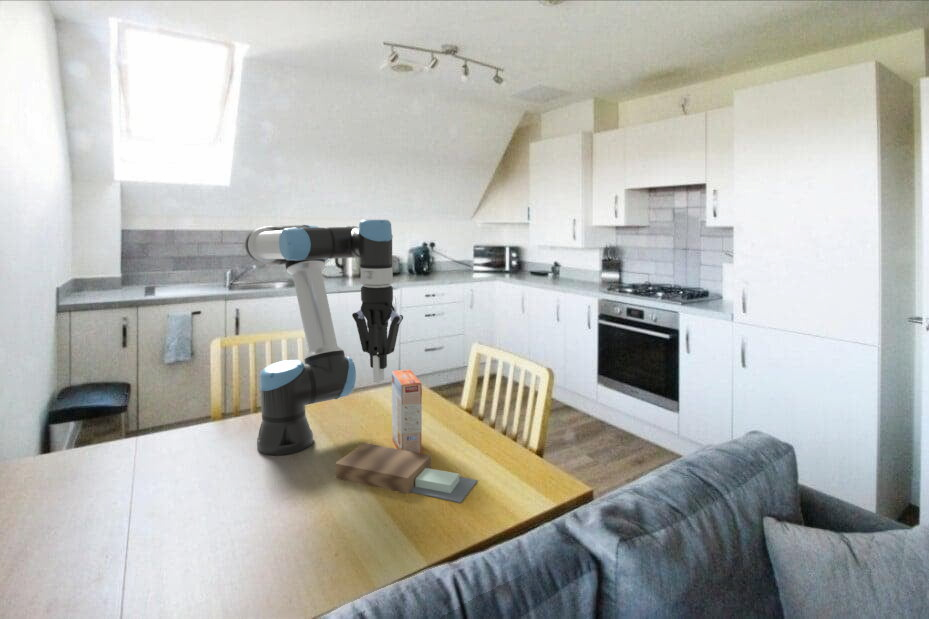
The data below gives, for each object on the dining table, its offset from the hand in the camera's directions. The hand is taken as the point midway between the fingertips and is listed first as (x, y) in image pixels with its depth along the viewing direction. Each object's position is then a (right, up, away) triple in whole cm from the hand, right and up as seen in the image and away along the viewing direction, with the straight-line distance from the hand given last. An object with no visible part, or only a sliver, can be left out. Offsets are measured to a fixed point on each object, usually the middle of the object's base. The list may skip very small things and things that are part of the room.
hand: (378, 380), depth 131 cm
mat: (+16, -25, -2) cm, 30 cm away
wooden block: (+1, -24, +4) cm, 24 cm away
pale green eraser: (+14, -25, -1) cm, 29 cm away
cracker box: (+5, -22, +19) cm, 29 cm away
